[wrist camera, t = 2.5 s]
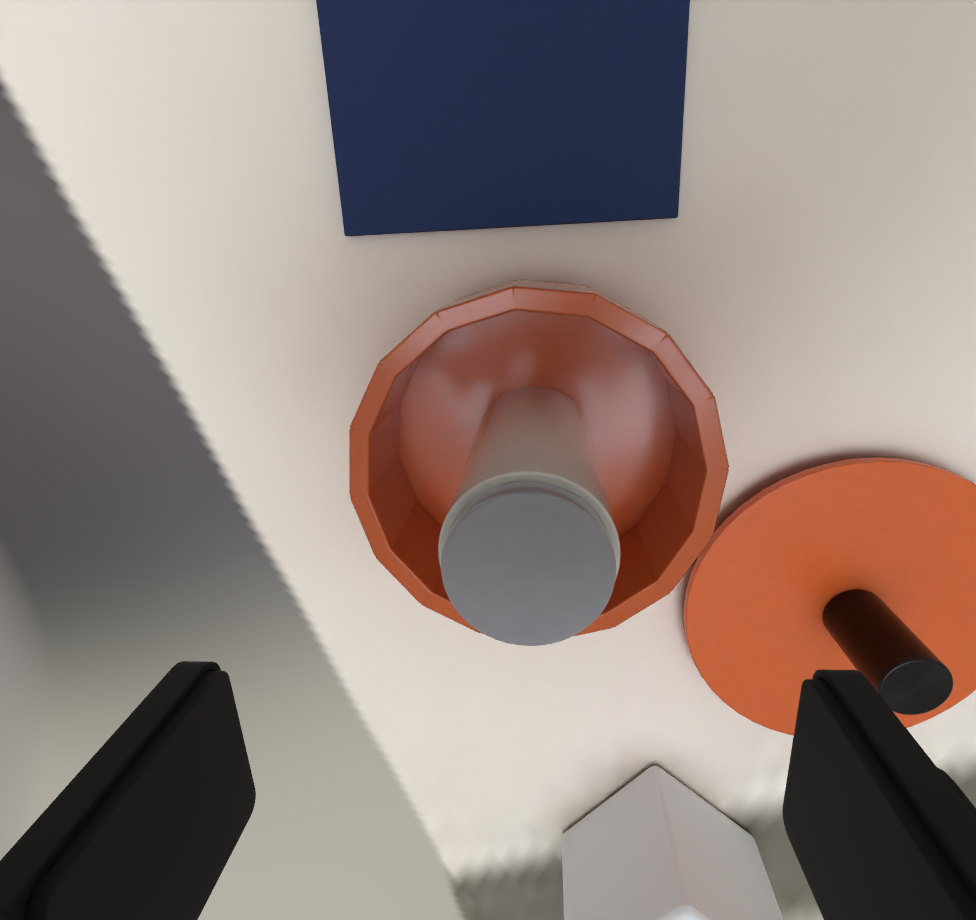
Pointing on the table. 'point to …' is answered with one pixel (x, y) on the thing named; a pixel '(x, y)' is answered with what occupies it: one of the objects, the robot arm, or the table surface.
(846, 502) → the pot lid
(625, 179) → the towel
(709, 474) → the pot
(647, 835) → the medicine bottle
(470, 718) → the table surface
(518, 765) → the table surface
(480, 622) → the salt shaker
